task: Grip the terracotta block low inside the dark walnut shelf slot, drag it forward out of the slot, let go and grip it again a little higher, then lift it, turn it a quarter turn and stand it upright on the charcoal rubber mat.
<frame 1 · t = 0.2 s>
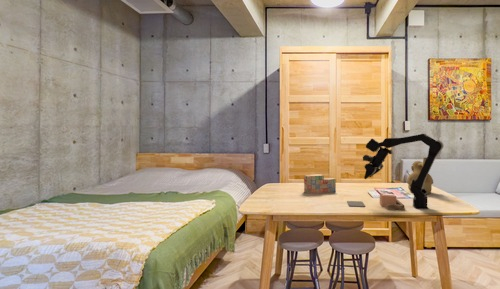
hand: (367, 177, 213), 14 cm above the table, tool tilted 30°, fingers open, 9 cm apart
ceramic vessel: (420, 193, 237), on the table
walnut shelf slot: (387, 205, 201), on the table
terracotta blank: (387, 200, 201), in the walnut shelf slot
charcoal mat: (355, 204, 204), on the table
stack of blocks: (319, 192, 244), on the table
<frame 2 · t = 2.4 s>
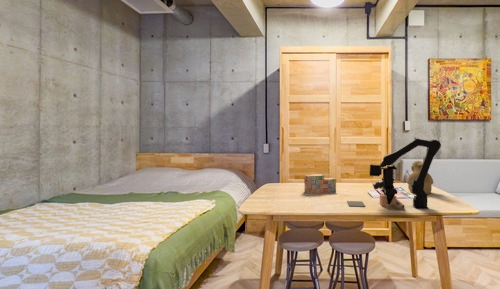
hand: (387, 203, 201), 1 cm above the table, tool pointing down, fingers closed on terracotta blank, 5 cm apart
terracotta blank: (387, 200, 201), in the walnut shelf slot, touching gripper
everything else where it was.
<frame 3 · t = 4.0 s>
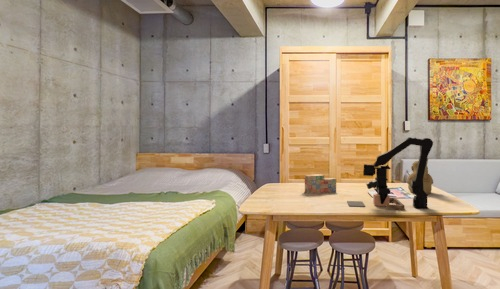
hand: (381, 202, 202), 1 cm above the table, tool pointing down, fingers closed on terracotta blank, 5 cm apart
terracotta blank: (381, 199, 202), on the table, touching gripper
everything else where it was.
when the fingers open (1 cm above the table, at t = 5.1 s): terracotta blank stays where it is, on the table.
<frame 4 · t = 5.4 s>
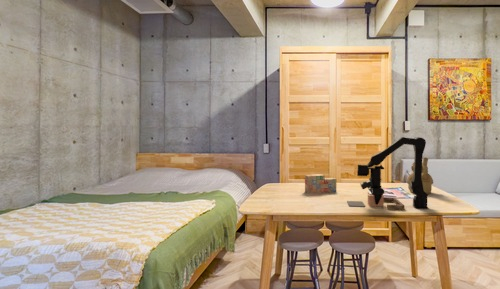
hand: (375, 202, 202), 1 cm above the table, tool pointing down, fingers open, 8 cm apart
terracotta blank: (375, 200, 202), on the table
everything else where it was.
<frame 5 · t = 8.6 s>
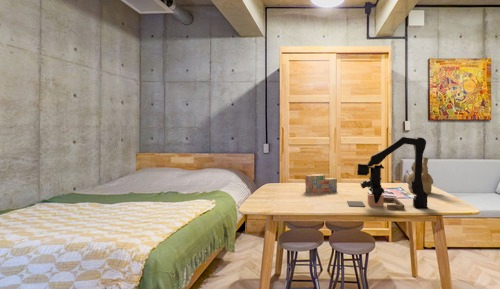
hand: (375, 202, 202), 2 cm above the table, tool pointing down, fingers closed on terracotta blank, 5 cm apart
terracotta blank: (375, 199, 202), on the table, touching gripper
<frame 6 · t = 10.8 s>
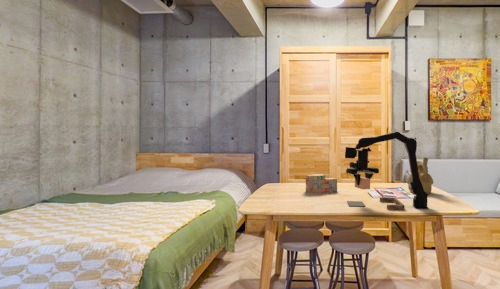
hand: (362, 185, 203), 12 cm above the table, tool pointing down, fingers closed on terracotta blank, 5 cm apart
terracotta blank: (362, 182, 203), point 13 cm above the table, touching gripper
when the fingers open (4 cm above the table, at t = 13.3 s): terracotta blank drops 1 cm, resting on charcoal mat.
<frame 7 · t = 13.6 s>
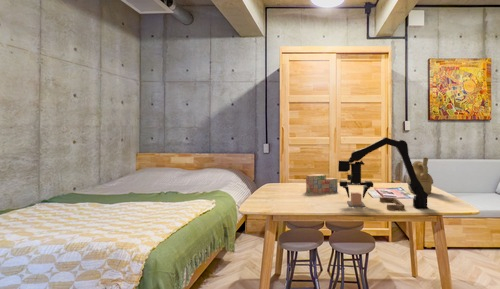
hand: (355, 198, 204), 4 cm above the table, tool pointing down, fingers open, 8 cm apart
terracotta blank: (356, 198, 204), on the charcoal mat, point 4 cm above the table
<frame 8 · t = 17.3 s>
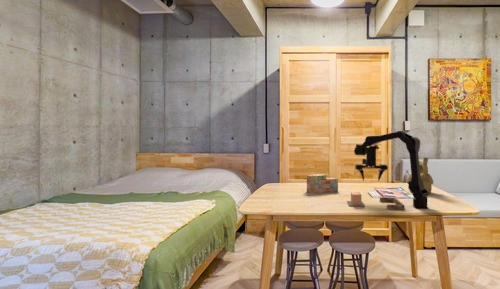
hand: (371, 180, 217), 12 cm above the table, tool pointing down, fingers open, 9 cm apart
at the end: terracotta blank 0.1 cm off-centre on the charcoal mat, point 3.6 cm above the charcoal mat's base; terracotta blank tilted 0°; the gripper is holding nothing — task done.
